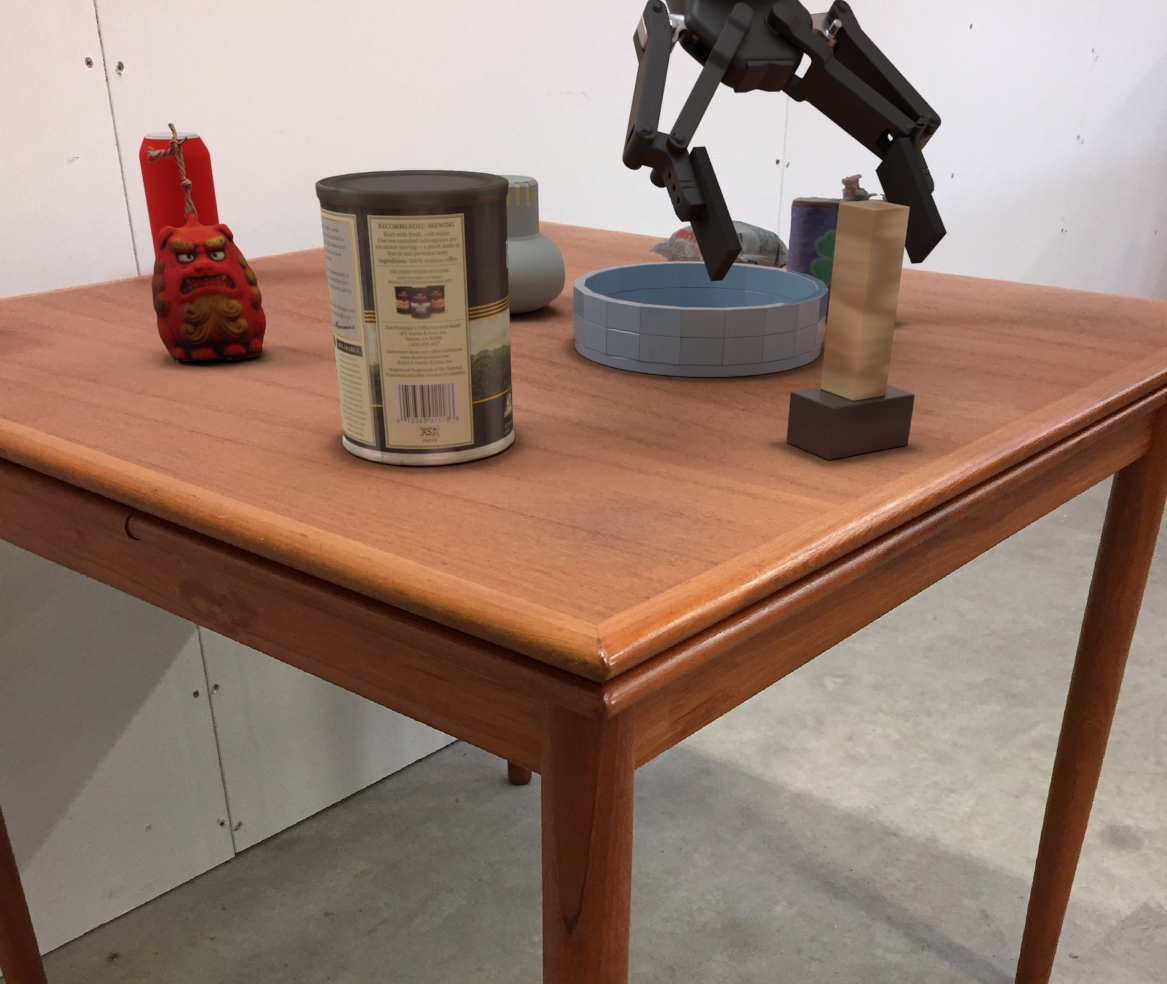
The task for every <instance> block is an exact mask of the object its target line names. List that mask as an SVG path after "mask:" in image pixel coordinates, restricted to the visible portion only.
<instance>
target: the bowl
mask: <svg viewBox="0 0 1167 984" xmlns="http://www.w3.org/2000/svg"><path fill="white" fill-rule="evenodd" d="M572 287H573V290H572V291H573V292H572V293H573V295H572V296H573V298H572V299H573V300H572V301H573V304H572V305H573V309H572V311H573V315H572V318H573V319H572V320H573V321H572V322H573V325H572V327H573V329H572V331H573V332H572V333H573V334H572V335H573V340H574V341H573V346H574V349H575V351H576V352H577V353H578V354H579V355H581V356H582V357H584V358H585V359H588V360H590V361H592V362H594V363H598V364H601V365H604V366H607V367H611V368H616V369H618V370H624V371H628V372H635V373H642V374H648V375H657V376H658V375H659V376H670V377H688V378H730V377H731V378H732V377H746V376H749V377H750V376H757V375H759V376H760V375H766V374H772V373H780V372H784V371H788V370H792V369H796V368H799V367H802V366H805V365H808V364H809V363H811V362H814V361H815V360H816V359H818V358H819V357H820V355H821V353H822V345H823V342H825V341H824V340H825V333H826V323H827V320H826V312H827V302H828V292H829V290H828V288H827V286H826V284H825V283H824V281H821V280H819V279H817V278H815V277H812V276H810V275H808V274H804V273H800V272H795V271H791V270H787V269H786V268H775V267H768V266H760V265H753V264H740V263H733V265H732V266H731V268H730V270H729V271H728V273H727V274H726V276H725V278H724V279H723V280H722V281H711V280H710V277H709V275H708V272H707V269H706V266H705V263H704V262H697V261H673V262H668V261H655V262H653V261H652V262H651V261H650V262H639V263H631V264H630V263H629V264H623V265H621V264H620V265H614V266H608V267H605V268H600V269H595V270H591V271H588V272H586V273H584V274H582V275H580V276H578V277H576V278H575V280H574V283H573V285H572Z"/></svg>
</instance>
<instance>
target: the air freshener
mask: <svg viewBox="0 0 1167 984" xmlns="http://www.w3.org/2000/svg"><path fill="white" fill-rule="evenodd" d="M498 175H499V176H502V177H504V178H506V179H507V180H508V182H509V189H508V195H507V242H508V271H509V276H508V281H509V315H513V314H515V315H516V314H523V313H530V312H535V311H537V310H540V309H541V308H544V307H545V306H547V305H548V304H550V303H552V302H553V301H555V299H557V298H558V297H559V296H560V295H561V294H562V293H563V290H564V288H565V283H566V267H565V261H564V258H563V255H562V253H561V250H560V249H559V247H558V245H557V243H556V242H554V241H553V240H552V239H550V238H549V237H547V236H546V235H544V234H542V233H541V232H540V209H539V208H540V206H539V205H540V204H539V202H540V201H539V182H538V181H537V180H536V179H535V178H534V177H532V176H528V175H527V176H526V175H518V174H515V175H514V174H498Z"/></svg>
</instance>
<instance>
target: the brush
mask: <svg viewBox="0 0 1167 984" xmlns="http://www.w3.org/2000/svg"><path fill="white" fill-rule="evenodd" d="M909 209H910V207H908V206H903V205H897V204H892V203H886V202H881V201H875V200H868V201H856V202H844V203H839V211H838V221H837V231H836V241H835V251H834V260H833V270H832V280H831V290H830V300H829V310H828V320H826V329H825V339H824V340H825V341H824V349H823V360H822V362H823V363H822V368H821V369H822V372H821V379H820V386H817V387H812V388H805V389H799V390H791V391H790V394H789V395H790V396H789V407H788V416H787V417H788V418H787V430H786V440H785V441H786V443H788V444H790V445H792V446H794V447H797V448H799V449H802V450H804V451H806V452H809V453H811V454H814V455H816V456H818V457H821V458H823V459H825V460H827V461H832V460H836V459H842V458H847V457H853V456H856V455H863V454H867V453H873V452H879V451H883V450H889V449H894V448H898V447H903V446H908V445H909V441H910V433H911V427H912V426H911V425H912V420H913V411H914V406H915V405H914V403H915V398H916V395H915V393H912V392H909V391H906V390H904V389H900V388H898V387H895V386H892V385H889V384H888V379H889V372H890V363H891V357H892V356H891V355H892V350H893V342H894V341H893V340H894V333H895V325H896V317H897V310H898V301H899V294H900V286H901V278H902V270H903V263H904V255H905V249H906V248H905V240H906V232H907V224H908V217H909Z"/></svg>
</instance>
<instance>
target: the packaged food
mask: <svg viewBox="0 0 1167 984" xmlns="http://www.w3.org/2000/svg"><path fill="white" fill-rule="evenodd" d="M732 222H733V224H734V227H735V230H736V233H737V236H738V238H739V241H740V244H741V247H742V250H741V252H740V254H739V255H738V257H737V258H736V260H735V262H734V263H740V264H753V265H760V266H768V267H775V268H782V269H784V267H786V266H787V261H788V252H789V247H788V246H787V245H786V244H785V242H784V241H783V239H781V237H780V236H779V235H778V234H776V233H775V232H773V231H771V230H769V229H765V228H762V227H760V226H758V225H753V224H750V223H748V222H747V223H746V222H744V221H741V220H733V219H732ZM648 252H649V253H652V252H654V253H655V254H657V255H661V256H662V257H663V258H665V259H666V262H673V261H697V262H704V260H703V258H702V255H701V252H700V249H699V246H698V244H697V241H696V238H695V235H694V232H693V229H692V227H691V224H690V225H688V226H683V227H682V228H679V229H677V230H676V231H674V232H673V233H672V234H671V235H670V237H669V238H667V239H666V238H664V239H662V240H661V241H659V242H658V243H657V244H654V246H653V247H650V248H649V250H648Z"/></svg>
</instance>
